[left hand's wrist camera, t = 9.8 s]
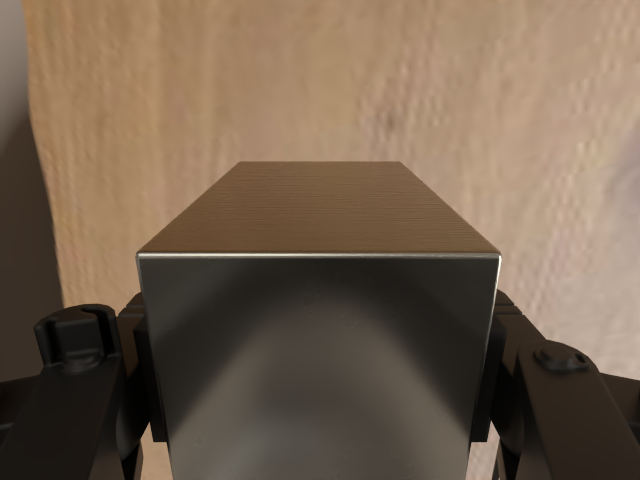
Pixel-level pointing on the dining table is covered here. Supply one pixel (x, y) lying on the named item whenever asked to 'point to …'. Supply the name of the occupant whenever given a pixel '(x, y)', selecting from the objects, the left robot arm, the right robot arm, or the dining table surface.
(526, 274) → the dining table surface
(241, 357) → the bar
